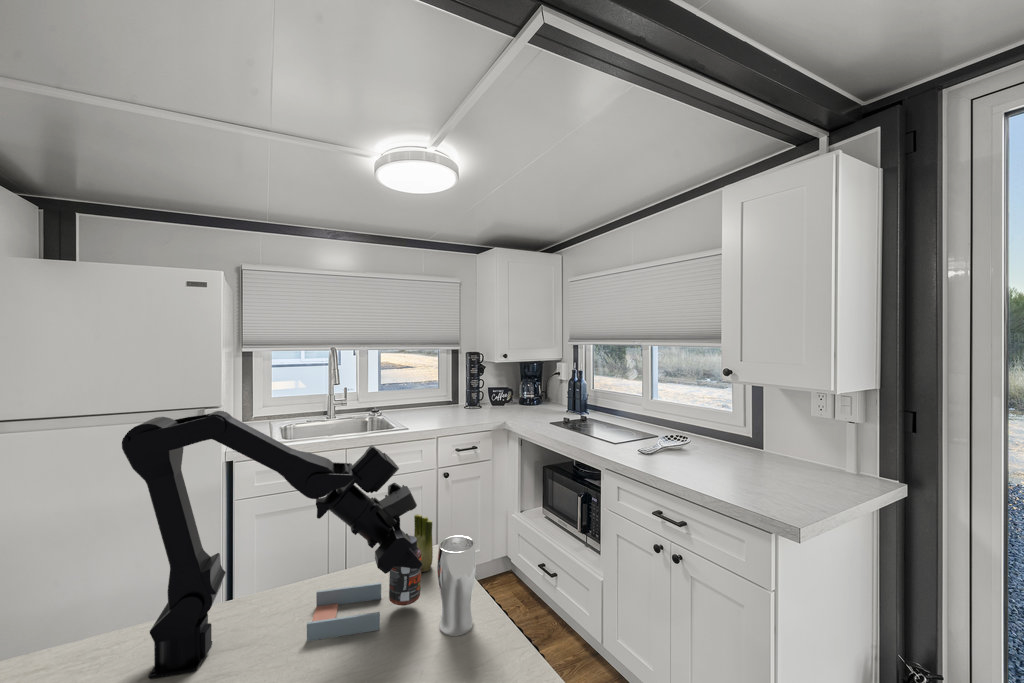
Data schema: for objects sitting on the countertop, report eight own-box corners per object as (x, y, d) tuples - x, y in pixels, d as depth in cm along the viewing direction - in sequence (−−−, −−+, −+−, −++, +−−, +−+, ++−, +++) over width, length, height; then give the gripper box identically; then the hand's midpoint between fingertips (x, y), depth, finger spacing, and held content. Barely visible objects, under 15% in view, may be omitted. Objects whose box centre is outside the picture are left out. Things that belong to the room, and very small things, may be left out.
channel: (306, 641, 75) (306, 624, 75) (316, 606, 85) (316, 591, 85) (379, 629, 78) (379, 613, 78) (381, 597, 88) (381, 582, 88)
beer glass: (480, 616, 82) (480, 537, 82) (468, 641, 76) (468, 555, 75) (445, 610, 84) (446, 533, 84) (430, 634, 77) (431, 550, 77)
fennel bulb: (435, 573, 97) (435, 519, 97) (412, 577, 95) (413, 523, 95) (429, 560, 102) (430, 510, 102) (408, 564, 101) (408, 513, 100)
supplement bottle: (412, 609, 81) (413, 548, 80) (383, 604, 82) (384, 545, 82) (425, 591, 86) (426, 534, 86) (397, 586, 88) (398, 531, 87)
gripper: (399, 492, 74) (460, 545, 79) (383, 462, 91) (433, 507, 96) (349, 547, 71) (416, 599, 76) (341, 505, 88) (396, 550, 92)
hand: (416, 558), depth 85 cm, fingers closed on supplement bottle, 6 cm apart
